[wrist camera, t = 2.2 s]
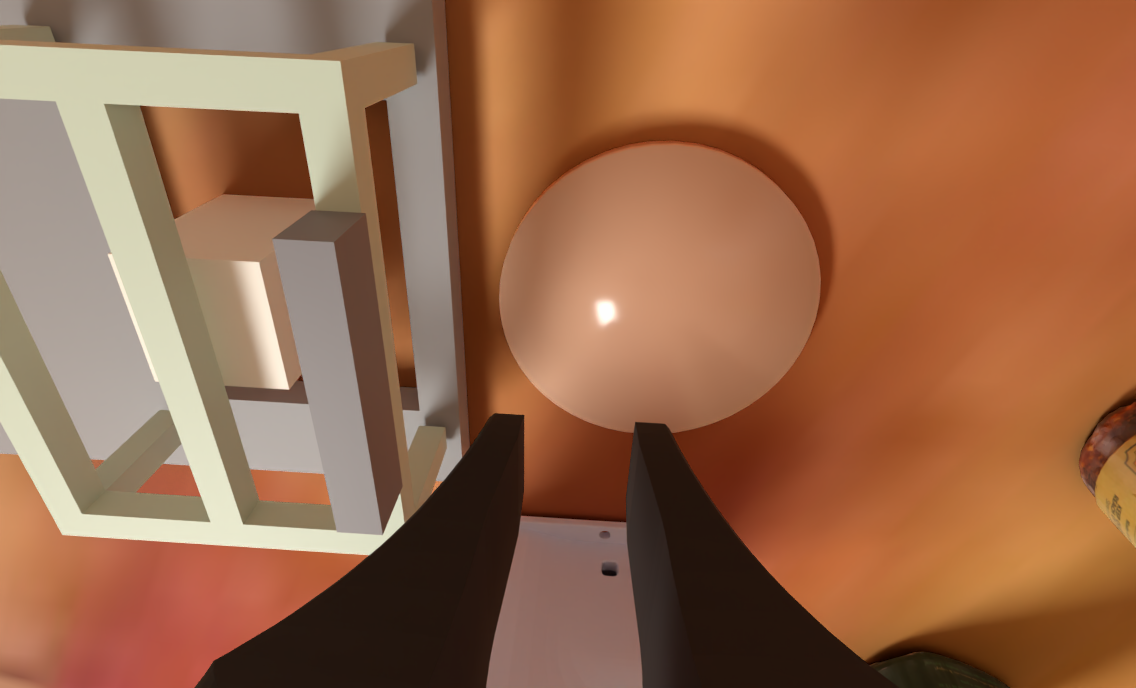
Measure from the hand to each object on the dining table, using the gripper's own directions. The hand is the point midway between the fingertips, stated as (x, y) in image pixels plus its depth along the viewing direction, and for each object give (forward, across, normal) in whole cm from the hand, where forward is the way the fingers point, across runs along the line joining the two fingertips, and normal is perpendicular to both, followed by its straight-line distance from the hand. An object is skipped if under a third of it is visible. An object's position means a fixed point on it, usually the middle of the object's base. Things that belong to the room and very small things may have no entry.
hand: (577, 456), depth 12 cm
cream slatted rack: (+8, +10, 0) cm, 13 cm away
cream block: (+10, +10, 0) cm, 14 cm away
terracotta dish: (+10, -2, +1) cm, 10 cm away
